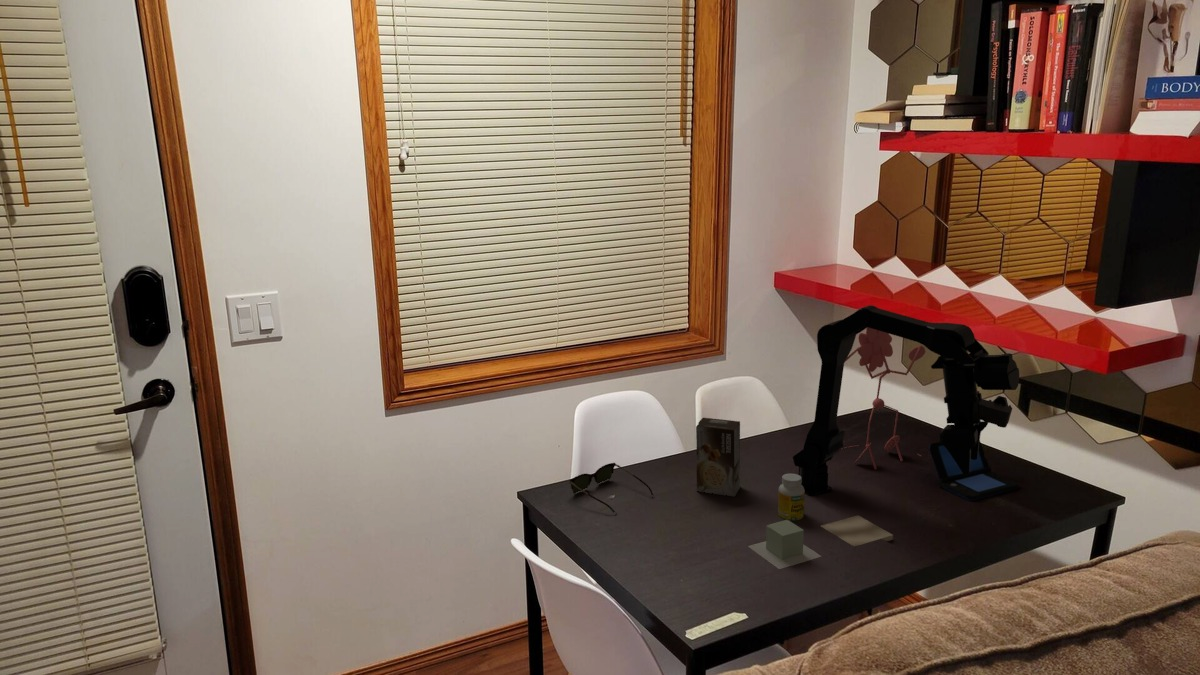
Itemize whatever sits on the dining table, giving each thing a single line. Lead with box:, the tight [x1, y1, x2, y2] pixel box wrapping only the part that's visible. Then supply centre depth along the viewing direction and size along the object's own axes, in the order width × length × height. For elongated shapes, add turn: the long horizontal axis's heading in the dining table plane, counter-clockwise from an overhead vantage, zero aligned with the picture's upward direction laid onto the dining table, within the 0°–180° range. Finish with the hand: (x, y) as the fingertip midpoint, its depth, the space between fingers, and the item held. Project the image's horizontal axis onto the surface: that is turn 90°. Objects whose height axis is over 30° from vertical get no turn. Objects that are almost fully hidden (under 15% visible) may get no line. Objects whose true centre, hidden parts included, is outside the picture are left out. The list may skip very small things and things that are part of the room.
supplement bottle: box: [777, 473, 806, 521], centre depth 178 cm, size 5×5×10 cm
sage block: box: [765, 519, 805, 560], centre depth 163 cm, size 5×5×5 cm
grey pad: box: [747, 540, 823, 570], centre depth 164 cm, size 10×10×1 cm
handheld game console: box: [928, 441, 1019, 501], centre depth 193 cm, size 16×13×9 cm
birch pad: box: [820, 514, 894, 548], centre depth 172 cm, size 10×10×1 cm
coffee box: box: [695, 417, 741, 497], centre depth 193 cm, size 9×6×16 cm
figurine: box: [841, 327, 926, 470], centre depth 207 cm, size 15×26×35 cm, turn 120°
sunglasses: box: [569, 462, 655, 513], centre depth 192 cm, size 14×15×5 cm
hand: (970, 466), depth 167 cm, fingers open, 9 cm apart
